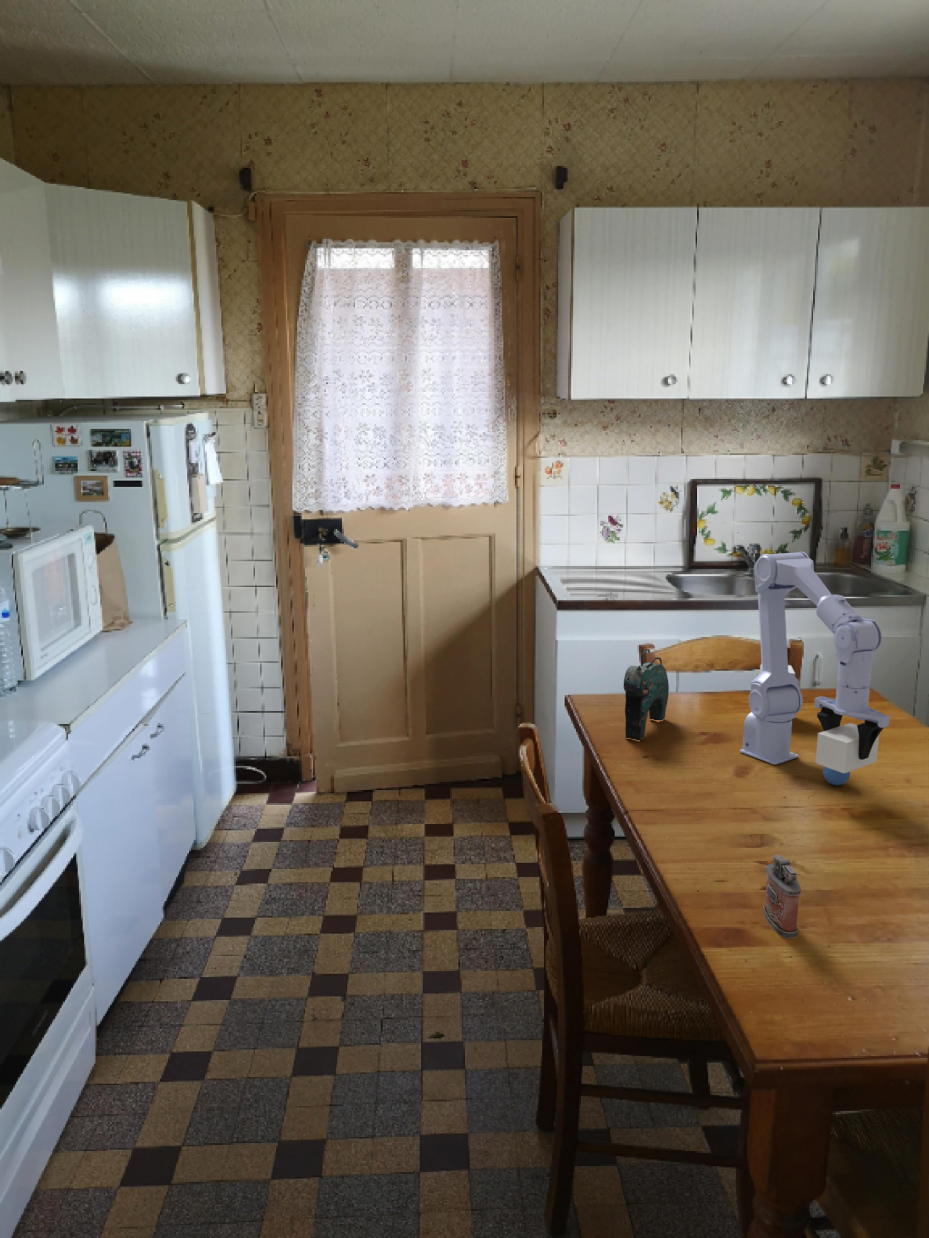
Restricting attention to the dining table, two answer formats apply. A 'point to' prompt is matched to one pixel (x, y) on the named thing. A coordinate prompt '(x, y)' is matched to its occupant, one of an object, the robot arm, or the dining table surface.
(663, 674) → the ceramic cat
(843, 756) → the white cardboard carton
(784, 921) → the lighter
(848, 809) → the dining table surface
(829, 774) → the ball
